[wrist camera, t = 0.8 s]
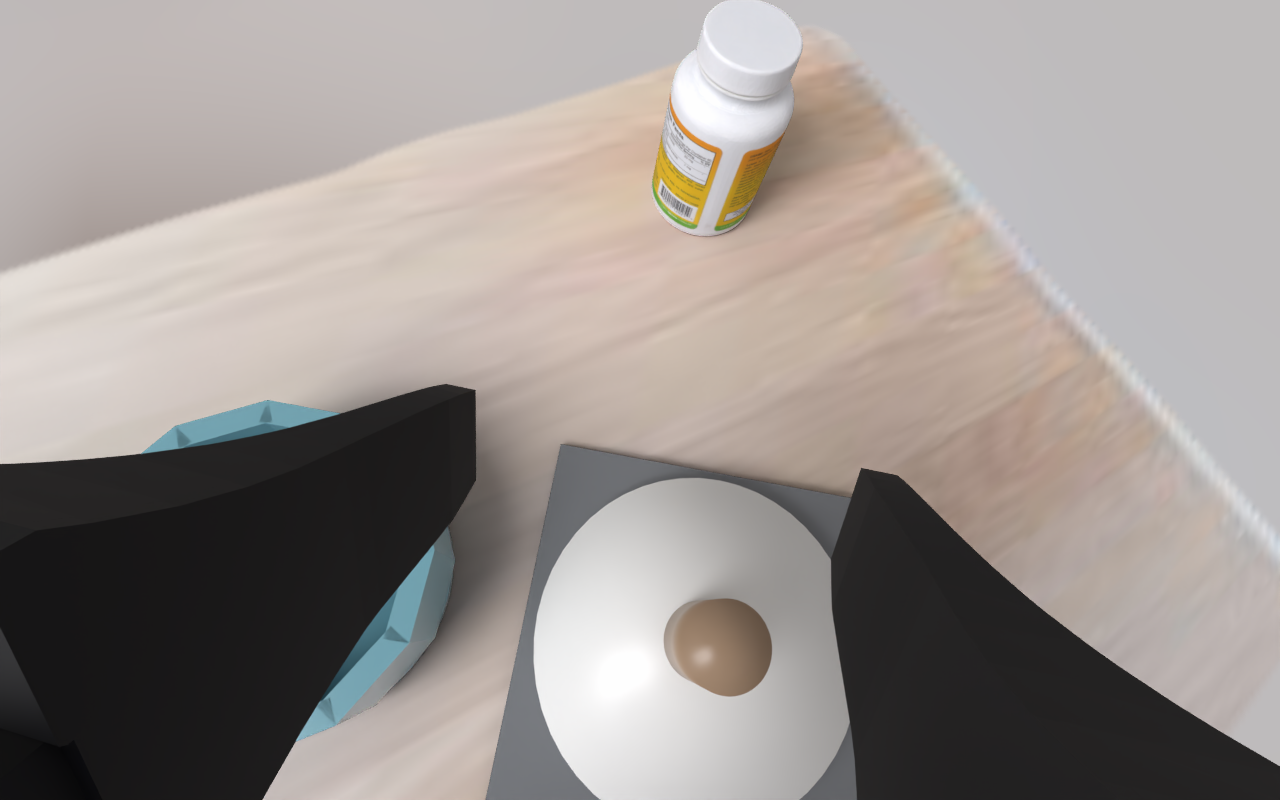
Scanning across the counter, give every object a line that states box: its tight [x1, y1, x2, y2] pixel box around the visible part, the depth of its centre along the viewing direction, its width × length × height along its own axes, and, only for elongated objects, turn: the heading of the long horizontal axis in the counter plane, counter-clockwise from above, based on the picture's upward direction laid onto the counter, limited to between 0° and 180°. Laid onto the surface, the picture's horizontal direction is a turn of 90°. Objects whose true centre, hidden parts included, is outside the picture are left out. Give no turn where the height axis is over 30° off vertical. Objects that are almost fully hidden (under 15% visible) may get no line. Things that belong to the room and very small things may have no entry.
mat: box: [486, 444, 857, 800], centre depth 24 cm, size 14×14×1 cm
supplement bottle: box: [652, 0, 803, 236], centre depth 28 cm, size 5×5×10 cm
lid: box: [534, 478, 850, 800], centre depth 22 cm, size 13×13×5 cm
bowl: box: [141, 400, 455, 741], centre depth 21 cm, size 11×11×5 cm
